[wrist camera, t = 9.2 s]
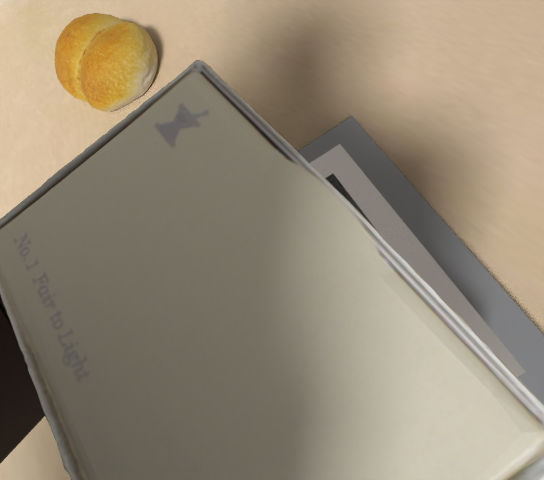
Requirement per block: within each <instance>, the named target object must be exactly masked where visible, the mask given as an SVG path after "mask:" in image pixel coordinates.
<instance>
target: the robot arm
mask: <svg viewBox="0 0 544 480" xmlns="http://www.w3.org/2000/svg"><path fill="white" fill-rule="evenodd" d="M44 416H45V414H44V411H43V408H42V405H41V402H40V400H39V397H38V394H37V391H36V388H35V386H34V383H33V381H32V379H31V376H30V374H29V371H28V366H27V364H26V362H25V359H24V355H23V353H22V351H21V349H20V347H19V344H18V341H17V338H16V335H15V332H14V330H13V327H12V324H11V321H10V319H9V317H8V315H7V312H6V308H5V306H4V304H3V301H2V298H1V295H0V463H1V462H2V461H3V460H4V459H5V458H6V457H7V456H8V455H9V454H10V453H11V452H12V450H13V449H14V448H15V447H16V446H17V445H18V444H19V443H20V442H21V441H22V440H23V439H24V438H25V437H26V435H27V434H28V433H29V432H30V431H31V430H32V429H33V428H34V427H35V426H36V425H37V424H38V423H39V422H40V420H41V419H42V418H43V417H44Z"/></svg>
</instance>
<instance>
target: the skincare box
mask: <svg viewBox="0 0 544 480" xmlns="http://www.w3.org/2000/svg"><path fill="white" fill-rule="evenodd" d="M0 295H1V298H2V301H3V304H4V306H5V308H6V312H7V315H8V317H9V319H10V321H11V324H12V327H13V330H14V332H15V335H16V338H17V341H18V344H19V347H20V349H21V351H22V353H23V355H24V359H25V362H26V364H27V366H28V371H29V374H30V376H31V379H32V381H33V383H34V386H35V388H36V391H37V394H38V397H39V400H40V402H41V405H42V408H43V411H44V414H45V416H46V418H47V420H48V422H49V424H50V427H51V429H52V432H53V434H54V437H55V440H56V442H57V445H58V448H59V451H60V454H61V458H62V461H63V464H64V468H65V470H66V471H67V472H68V473H69V474H70V476H71V480H544V405H543V404H542V403H541V402H540V401H539V400H538V399H537V398H536V397H535V396H534V394H533V393H532V392H531V391H530V390H529V389H528V388H527V387H526V386H525V385H524V384H523V383H522V381H521V380H520V379H519V378H518V377H517V376H516V375H515V374H514V373H513V372H512V371H511V370H510V369H509V368H508V367H507V366H506V365H505V364H504V362H503V361H502V360H501V359H500V358H499V357H498V356H497V355H496V354H495V353H494V352H493V351H492V350H491V349H490V348H489V347H488V346H487V345H486V343H485V342H484V341H483V340H482V339H481V338H480V337H479V336H478V335H477V334H476V333H475V332H474V331H473V330H472V329H471V327H470V326H469V325H468V324H467V323H466V322H465V321H464V320H463V319H462V318H461V317H460V316H459V315H458V314H457V313H456V312H455V311H454V310H453V309H452V308H451V307H450V306H449V305H448V304H447V303H446V302H445V301H444V300H443V299H442V298H441V297H440V296H439V295H438V294H437V293H436V292H435V291H434V290H433V289H432V288H431V286H430V285H429V284H428V283H427V282H426V281H425V280H424V279H423V278H422V277H421V276H420V275H419V274H418V273H417V272H416V271H415V270H414V268H413V267H412V266H411V265H410V264H409V263H408V262H407V261H406V260H405V259H404V258H403V257H402V256H401V255H400V254H399V253H398V252H397V251H396V250H395V249H394V248H393V247H392V246H391V245H390V244H389V243H388V242H387V241H386V240H385V238H384V237H383V236H382V235H381V234H380V233H379V232H378V231H377V230H376V229H375V228H374V227H373V226H372V225H371V224H370V223H369V222H368V221H367V220H366V219H365V218H364V217H363V216H362V215H361V213H360V212H359V211H358V210H357V209H356V208H355V207H354V206H353V205H352V204H351V203H350V202H349V201H348V200H347V199H346V198H345V197H344V196H343V195H342V194H341V193H340V192H339V191H338V190H337V189H335V188H334V187H333V186H332V185H331V184H330V183H329V182H328V181H327V180H326V179H325V178H324V177H323V176H322V175H321V174H320V173H319V172H318V171H317V170H316V169H315V168H314V167H313V166H312V165H311V164H309V163H308V162H307V161H306V160H305V159H304V158H303V157H302V156H301V155H300V154H299V153H298V152H297V151H296V150H295V149H294V148H293V147H292V146H291V145H290V143H288V142H287V141H286V140H285V139H284V138H283V137H282V136H281V135H280V134H279V133H278V132H277V131H275V130H274V129H273V128H272V127H271V126H270V125H269V124H268V123H267V122H266V121H265V120H264V119H263V118H262V117H261V116H260V115H259V114H258V113H257V112H256V111H255V110H254V109H253V108H252V107H251V106H250V105H249V104H248V103H247V102H246V101H245V100H243V99H242V98H241V97H240V96H239V95H238V94H237V93H236V92H235V91H234V90H233V89H232V88H231V87H230V86H229V85H227V84H226V83H225V82H224V81H223V80H222V79H221V78H220V77H219V76H218V75H217V74H216V73H215V72H214V71H213V70H212V69H211V67H210V66H208V65H207V64H206V63H205V62H203V61H201V60H196V61H195V62H193V63H192V64H191V65H190V66H189V67H188V68H187V69H186V70H184V71H183V72H182V73H181V74H180V75H178V76H177V77H176V78H175V79H174V80H173V81H172V82H170V83H169V84H168V85H166V86H165V87H163V88H162V89H161V90H160V91H158V92H157V93H156V94H155V95H153V96H152V97H151V98H149V99H148V100H147V101H145V102H144V103H143V104H142V105H141V106H140V107H139V108H138V109H136V110H135V111H133V112H132V113H130V114H129V115H128V116H127V117H126V118H125V119H124V120H122V121H121V122H120V123H118V124H117V125H115V126H114V127H113V128H112V129H110V130H109V131H108V132H107V133H106V134H105V135H103V136H102V137H101V138H99V139H98V140H97V141H96V142H95V143H93V144H92V145H91V146H89V147H88V148H87V149H85V151H84V152H83V153H81V154H80V155H78V156H77V157H76V158H75V159H74V160H72V161H71V162H70V163H68V164H67V165H65V166H64V167H63V168H62V169H60V170H59V171H58V172H57V173H56V174H54V175H53V176H52V177H51V178H49V179H48V180H47V181H46V182H45V183H44V184H43V185H42V186H41V187H40V188H39V189H37V190H36V191H35V192H33V193H32V194H31V195H30V196H28V197H27V198H26V199H25V200H23V201H22V202H21V203H20V204H18V205H17V206H16V207H15V208H14V209H12V210H11V211H10V212H9V213H7V214H6V215H5V216H4V217H3V218H1V219H0Z"/></svg>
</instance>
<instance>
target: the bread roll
mask: <svg viewBox="0 0 544 480" xmlns="http://www.w3.org/2000/svg"><path fill="white" fill-rule="evenodd" d="M157 62H158V56H157V50H156V46H155V45H154V43H153V40H152V39H151V37H150V36H149V34H148V33H147V31H146V30H145V29H144V28H143V27H141V26H140V25H138V24H136V23H133V22H126V21H124V20H121V19H119V18H117V17H114V16H112V15H106V14H99V13H94V14H86V15H84V16H82V17H79V18H76V19H74V20H73V21H72V22H71V23H70V24H68V25H67V26H66V27H65V29H64V30H63V31H62V33H61V35H60V37H59V38H58V40H57V44H56V49H55V68H56V73H57V77H58V79H59V81H60V83H61V84H62V86H63V87H64V88H65V89H66V90H67V91H68V92H69V93H70V94H71V95H72V96H74V97H75V98H78V99H80V100H82V101H85V102H88V103H89V104H90V105H91V106H92V107H94V108H96V109H98V110H101V111H105V112H112V111H115V110H117V109H120V108H122V107H124V106H125V105H127V104H129V103H131V102H132V101H134V100H136V99H137V98H139V97H140V96H142V95H143V94H144V93H145V92H146V91H147V90H148V88H149V87H150V86H151V84H152V81H153V79H154V77H155V75H156V71H157Z"/></svg>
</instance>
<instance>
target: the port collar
mask: <svg viewBox="0 0 544 480" xmlns="http://www.w3.org/2000/svg"><path fill="white" fill-rule="evenodd" d="M309 164H311V165H312V166H313V167H314V168H315V169H316V170H317V171H318V172H319V173H320V174H321V175H322V176H323V177H324V178H325V179H326V180H327V181H328V182H329V183H330V184H331V185H332V186H333V187H334V188H335V189H337V190H338V191H339V192H340V193H341V194H342V195H343V196H344V197H345V198H346V199H347V200H348V201H349V202H350V203H351V204H352V205H353V206H354V207H355V208H356V209H357V210H358V211H359V212H360V213H361V215H362V216H363V217H364V218H365V219H366V220H367V221H368V222H369V223H370V224H371V225H372V226H373V227H374V228H375V229H376V230H377V231H378V232H379V233H380V234H381V235H382V236H383V237H384V238H385V240H386V241H387V242H388V243H389V244H390V245H391V246H392V247H393V248H394V249H395V250H396V251H397V252H398V253H399V254H400V255H401V256H402V257H403V258H404V259H405V260H406V261H407V262H408V263H409V264H410V265H411V266H412V267H413V268H414V270H415V271H416V272H417V273H418V274H419V275H420V276H421V277H422V278H423V279H424V280H425V281H426V282H427V283H428V284H429V285H430V286H431V288H432V289H433V290H434V291H435V292H436V293H437V294H438V295H439V296H440V297H441V298H442V299H443V300H444V301H445V302H446V303H447V304H448V305H449V306H450V307H451V308H452V309H453V310H454V311H455V312H456V313H457V314H458V315H459V316H460V317H461V318H462V319H463V320H464V321H465V322H466V323H467V324H468V325H469V326H470V327H471V329H472V330H473V331H474V332H475V333H476V334H477V335H478V336H479V337H480V338H481V339H482V340H483V341H484V342H485V343H486V345H487V346H488V347H489V348H490V349H491V350H492V351H493V352H494V353H495V354H496V355H497V356H498V357H499V358H500V359H501V360H502V361H503V362H504V364H505V365H506V366H507V367H508V368H509V369H510V370H511V371H512V372H513V373H514V374H515V375H516V376H517V377H518V376H520V375H522V374H524V373H525V370H524V369H523V368H522V367H521V365H520V364H519V363H518V362H517V360H516V359H515V358H514V357H513V356H512V354H511V353H510V352H509V351H508V349H507V348H506V347H505V346H504V345H503V343H502V342H501V341H500V340H499V338H498V337H497V336H496V335H495V333H494V332H493V331H492V330H491V329H490V327H489V326H488V325H487V324H486V322H485V321H484V320H483V319H482V318H481V316H480V315H479V314H478V313H477V311H476V310H475V309H474V308H473V306H472V305H471V304H470V303H469V302H468V300H467V299H466V298H465V297H464V295H463V294H462V293H461V292H460V291H459V289H458V288H457V287H456V286H455V284H454V283H453V282H452V281H451V279H450V278H449V277H448V276H447V275H446V273H445V272H444V271H443V270H442V268H441V267H440V266H439V265H438V264H437V262H436V261H435V260H434V259H433V257H432V256H431V255H430V254H429V252H428V251H427V250H426V249H425V248H424V246H423V245H422V244H421V243H420V241H419V240H418V239H417V238H416V237H415V235H414V234H413V233H412V232H411V230H410V229H409V228H408V227H407V225H406V224H405V223H404V222H403V221H402V219H401V218H400V217H399V216H398V214H397V213H396V212H395V211H394V210H393V208H392V207H391V206H390V205H389V203H388V202H387V201H386V200H385V198H384V197H383V196H382V195H381V194H380V192H379V191H378V190H377V189H376V187H375V186H374V185H373V184H372V183H371V181H370V180H369V179H368V178H367V176H366V175H365V174H364V173H363V171H362V170H361V169H360V168H359V167H358V165H357V164H356V163H355V162H354V160H353V159H352V158H351V157H350V156H349V154H348V153H347V152H346V151H345V149H344V148H343V147H342V146H341V144H339V145H337V146H336V147H334V148H333V149H331V150H329V151H328V152H326V153H325V154H323V155H322V156H320V157H319V158H317V159H315V160H314V161H312V162H311V163H309Z"/></svg>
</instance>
